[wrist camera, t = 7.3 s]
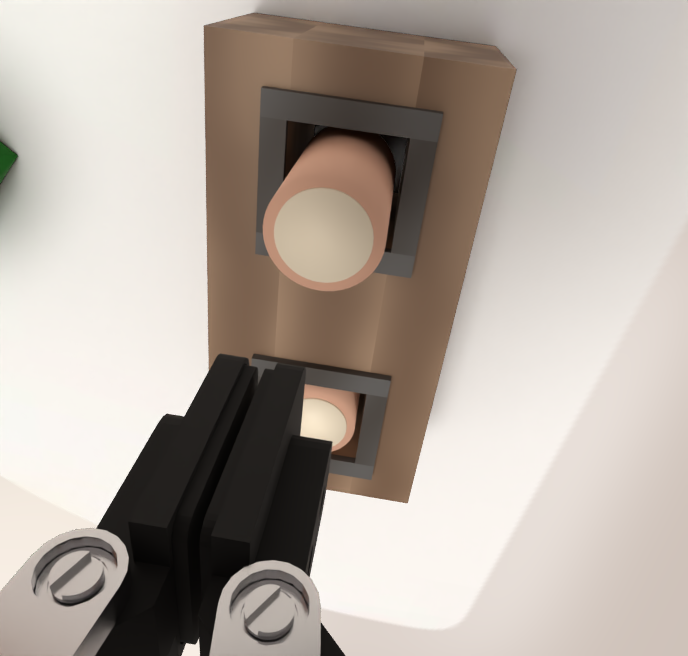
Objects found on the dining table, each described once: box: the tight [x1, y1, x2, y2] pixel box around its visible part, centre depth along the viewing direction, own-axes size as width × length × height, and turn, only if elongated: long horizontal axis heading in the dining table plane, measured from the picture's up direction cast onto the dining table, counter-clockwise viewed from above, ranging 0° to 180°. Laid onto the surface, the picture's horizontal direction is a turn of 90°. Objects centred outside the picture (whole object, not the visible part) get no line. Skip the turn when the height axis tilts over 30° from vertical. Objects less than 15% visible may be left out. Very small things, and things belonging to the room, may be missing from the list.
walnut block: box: [204, 13, 517, 503], centre depth 29 cm, size 11×22×7 cm, turn 174°
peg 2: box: [300, 384, 360, 451], centre depth 32 cm, size 4×4×7 cm
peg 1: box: [263, 126, 396, 291], centre depth 22 cm, size 4×4×7 cm
